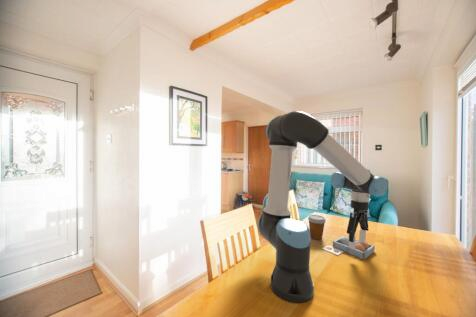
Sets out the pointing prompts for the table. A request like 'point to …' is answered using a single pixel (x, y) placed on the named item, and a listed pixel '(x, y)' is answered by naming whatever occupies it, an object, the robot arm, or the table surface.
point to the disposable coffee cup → (316, 226)
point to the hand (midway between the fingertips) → (357, 245)
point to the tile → (333, 250)
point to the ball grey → (345, 241)
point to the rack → (360, 254)
